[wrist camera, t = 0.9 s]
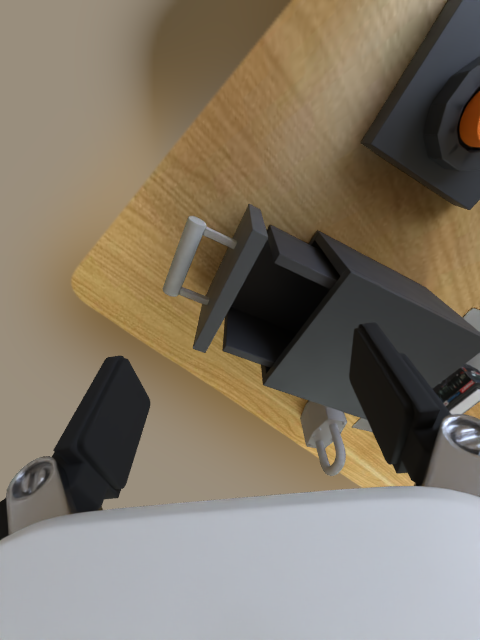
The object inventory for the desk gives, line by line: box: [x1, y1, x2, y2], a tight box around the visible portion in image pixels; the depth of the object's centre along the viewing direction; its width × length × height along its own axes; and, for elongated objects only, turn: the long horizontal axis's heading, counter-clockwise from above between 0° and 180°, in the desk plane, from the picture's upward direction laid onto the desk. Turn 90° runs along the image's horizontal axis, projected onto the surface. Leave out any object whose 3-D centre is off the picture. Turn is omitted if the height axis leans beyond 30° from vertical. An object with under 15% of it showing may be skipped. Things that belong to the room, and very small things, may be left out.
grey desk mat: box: [352, 308, 480, 432], centre depth 38 cm, size 14×25×4 cm, turn 160°
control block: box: [361, 0, 480, 210], centre depth 20 cm, size 11×9×4 cm
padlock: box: [300, 401, 347, 476], centre depth 37 cm, size 7×4×10 cm, turn 164°
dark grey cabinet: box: [261, 230, 480, 420], centre depth 27 cm, size 15×13×10 cm
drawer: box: [163, 204, 340, 368], centre depth 25 cm, size 18×11×8 cm, turn 64°
